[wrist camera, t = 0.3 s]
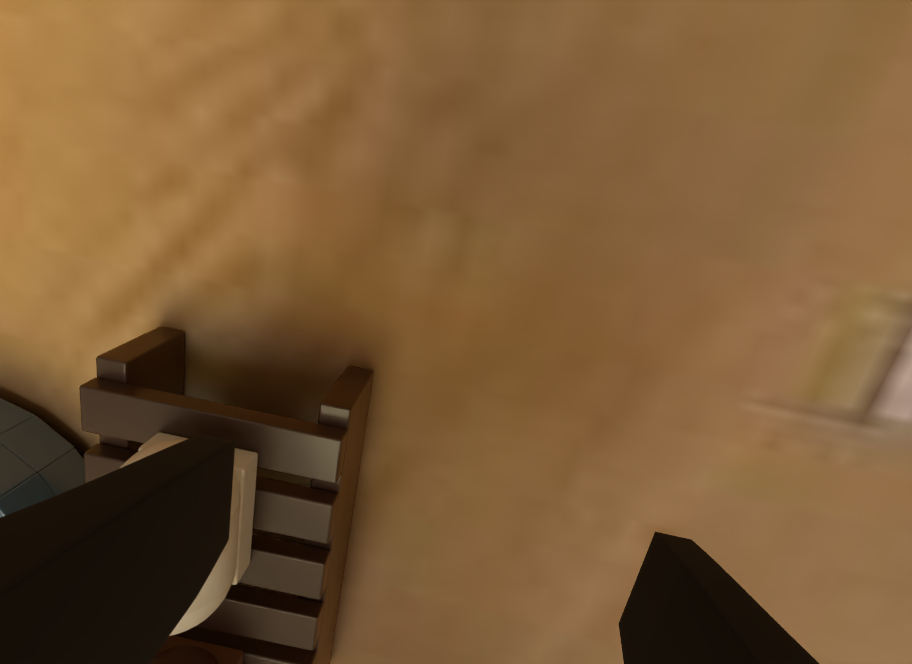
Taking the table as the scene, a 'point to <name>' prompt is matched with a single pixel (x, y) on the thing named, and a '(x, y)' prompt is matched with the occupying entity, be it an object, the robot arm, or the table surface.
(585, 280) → the table surface
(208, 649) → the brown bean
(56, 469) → the bowl
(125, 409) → the rack
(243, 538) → the cream capsule
